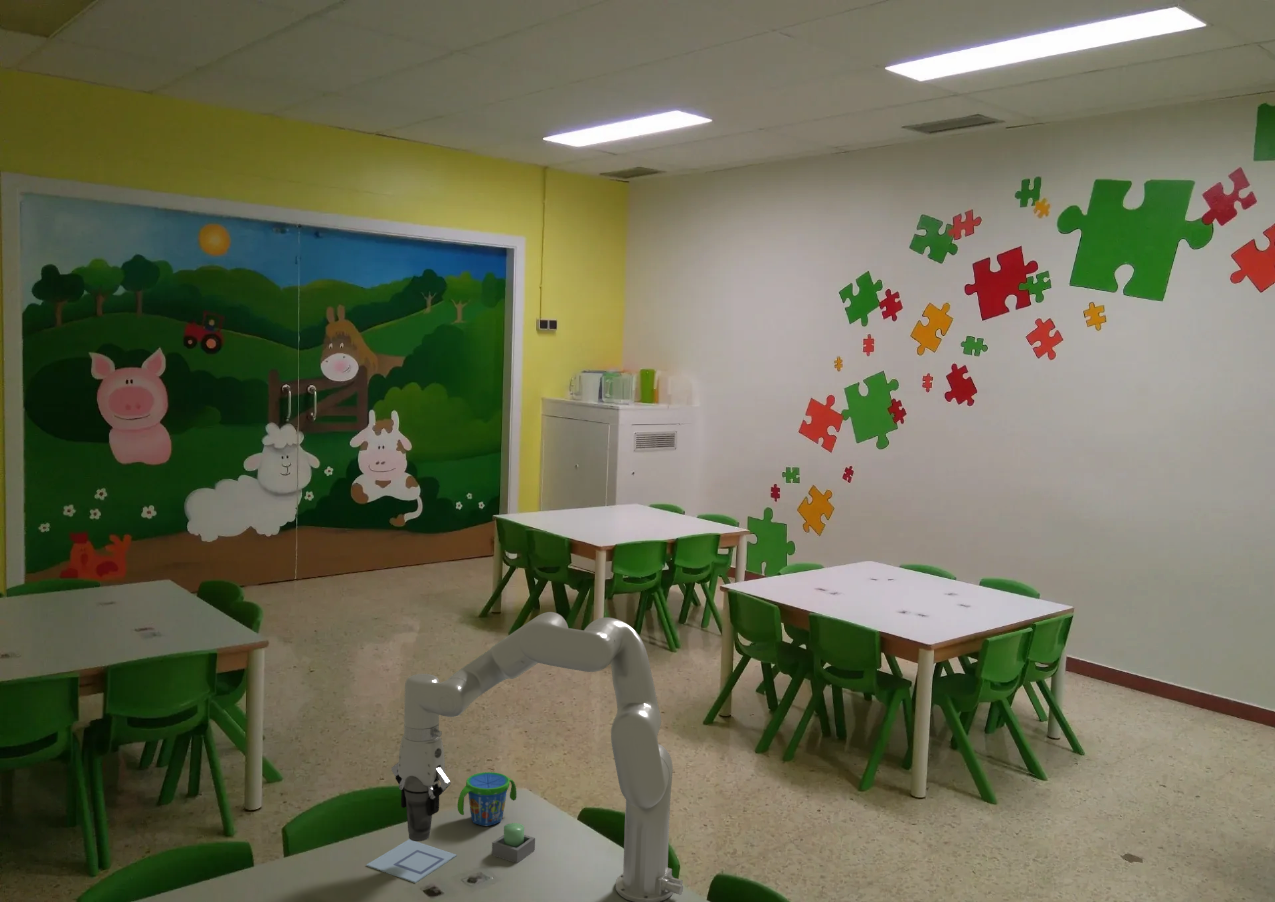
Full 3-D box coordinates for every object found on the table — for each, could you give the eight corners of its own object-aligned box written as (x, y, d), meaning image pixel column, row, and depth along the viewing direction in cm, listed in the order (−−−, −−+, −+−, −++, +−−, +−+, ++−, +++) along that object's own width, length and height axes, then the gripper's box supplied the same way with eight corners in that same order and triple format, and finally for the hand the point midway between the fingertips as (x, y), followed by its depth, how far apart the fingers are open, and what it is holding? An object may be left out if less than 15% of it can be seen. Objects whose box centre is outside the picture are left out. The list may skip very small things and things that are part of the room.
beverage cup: (431, 845, 214) (433, 756, 213) (398, 843, 215) (400, 755, 213) (439, 829, 222) (441, 743, 220) (407, 828, 222) (408, 742, 220)
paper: (456, 856, 222) (456, 854, 222) (415, 883, 210) (415, 881, 210) (409, 840, 229) (409, 839, 229) (366, 865, 217) (366, 864, 217)
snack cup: (506, 805, 249) (507, 766, 249) (525, 821, 241) (526, 781, 240) (448, 818, 241) (449, 778, 240) (466, 836, 232) (467, 794, 231)
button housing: (534, 850, 226) (535, 838, 226) (517, 863, 220) (517, 850, 220) (509, 842, 230) (510, 830, 229) (491, 855, 223) (492, 842, 223)
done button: (527, 842, 226) (528, 826, 225) (516, 851, 222) (516, 834, 221) (511, 837, 228) (511, 821, 227) (499, 846, 224) (499, 829, 223)
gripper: (463, 734, 216) (461, 812, 217) (402, 718, 224) (401, 794, 225) (441, 745, 209) (439, 825, 210) (379, 728, 217) (378, 806, 218)
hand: (419, 808), depth 218 cm, fingers closed on beverage cup, 6 cm apart
